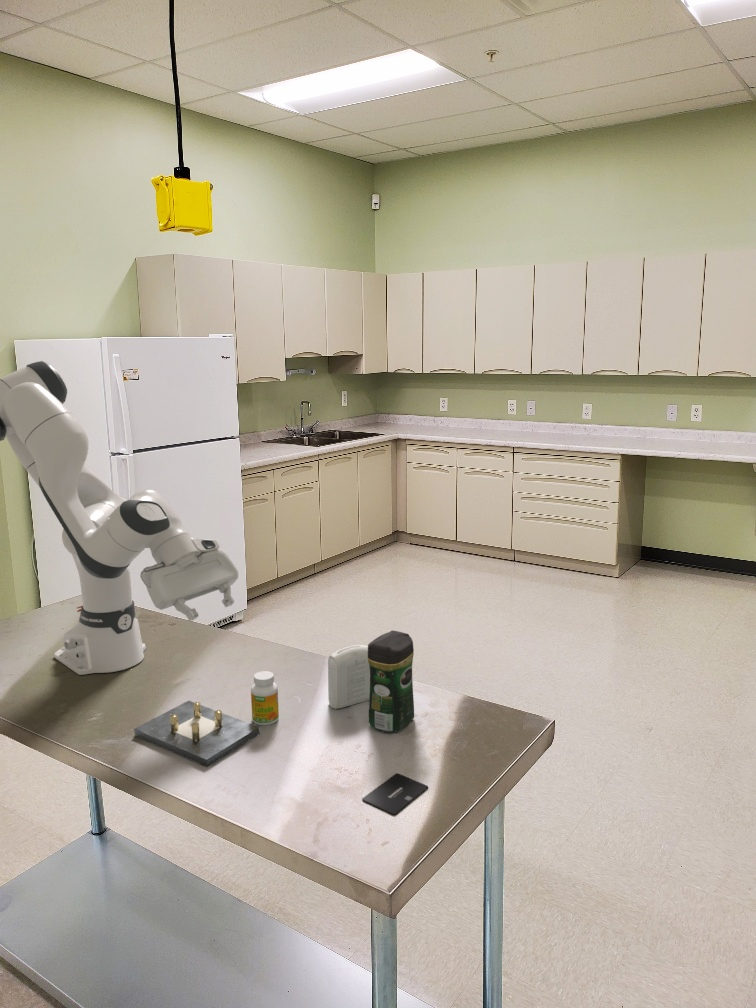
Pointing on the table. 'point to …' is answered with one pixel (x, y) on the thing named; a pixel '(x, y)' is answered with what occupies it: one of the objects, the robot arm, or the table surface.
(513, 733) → the table surface
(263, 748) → the table surface
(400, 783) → the solid state drive
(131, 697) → the table surface
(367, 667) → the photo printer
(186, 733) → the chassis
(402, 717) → the coffee jar
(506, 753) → the table surface
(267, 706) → the supplement bottle
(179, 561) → the robot arm
